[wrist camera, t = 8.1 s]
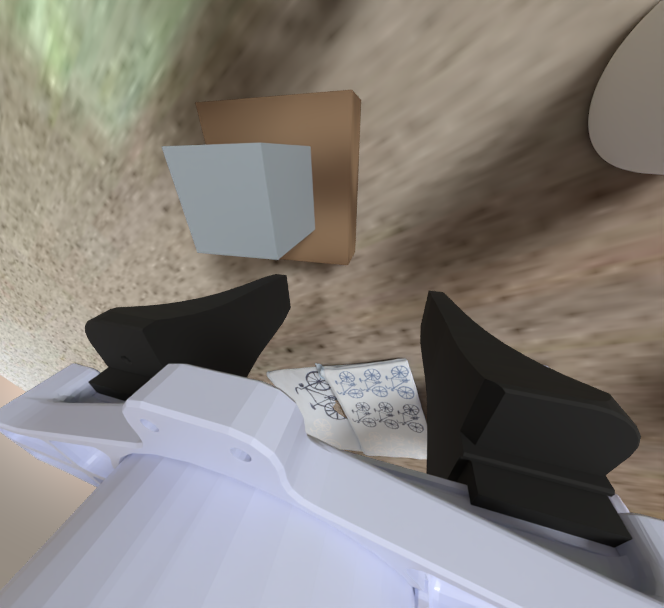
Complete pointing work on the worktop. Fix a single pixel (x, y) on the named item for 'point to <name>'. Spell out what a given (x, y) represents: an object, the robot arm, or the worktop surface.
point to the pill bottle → (633, 100)
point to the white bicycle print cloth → (360, 406)
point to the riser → (326, 156)
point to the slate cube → (244, 196)
